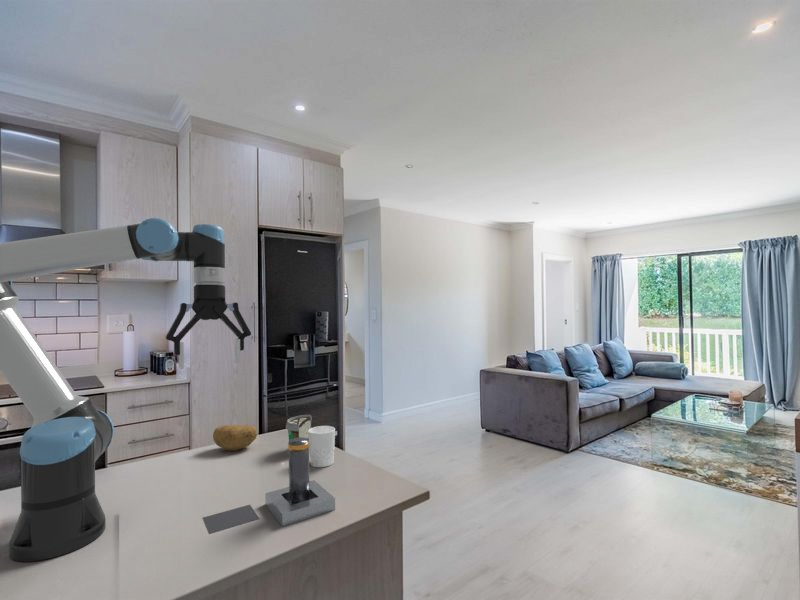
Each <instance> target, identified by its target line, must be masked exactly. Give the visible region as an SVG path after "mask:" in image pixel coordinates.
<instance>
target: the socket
mask: <svg viewBox="0 0 800 600" xmlns="http://www.w3.org/2000/svg"><path fill="white" fill-rule="evenodd" d="M309 485H310V500H307V501H303V502H300V503H297V504H293V505H290V504H289V486H287V487H284V488H280V489H277V490H272V491H270V492H265V493H264V495H265V498H264V499H265V507H267V508H268V509H269V511H270V512H271V514H272V516H274V517H275V518H276V520H277V521H278V522H279V524H280V525H281V527H285V526H288V525H292V524H295V523H297V522H301V521H304V520H306V519H309V518H314V517H317V516H320V515H323V514H326V513H328V512H332V511H335V510H336V497H334V496H333V495H332V494H331V493H330V492H329V491H327V490H326V489H325V488H324V487H323V486H322V485H321V484H319V483H318V482H317V481H316V480H315V479H313V480H309Z"/></svg>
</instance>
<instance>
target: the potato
mask: <svg viewBox="0 0 800 600" xmlns="http://www.w3.org/2000/svg"><path fill="white" fill-rule="evenodd" d="M257 435H258V430H257V427H255V426H252V425H242V424H230V425H227V424H226V425H220V426H218V427H215V429H214V431H213V434H212V439H213V442H214V444H215V445H216V446H218V447H219V448H220V449H223V450H226V451H233V452H234V451H238V450H242V449H244V448H247V447H249V446H250V445H251V444H252V443H253V442H255V440H256V439H257Z"/></svg>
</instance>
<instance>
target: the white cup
mask: <svg viewBox="0 0 800 600" xmlns="http://www.w3.org/2000/svg"><path fill="white" fill-rule="evenodd" d="M308 436H309V458H310V466H312V467H314V468H325V467H329V466H332V465H333V464H334V461H335V445H336V440H335V439H336V427H334V426H331V425H320V426H319V425H318V426H314V427H311V429H309V430H308Z"/></svg>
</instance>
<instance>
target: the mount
mask: <svg viewBox="0 0 800 600" xmlns="http://www.w3.org/2000/svg"><path fill="white" fill-rule="evenodd" d="M202 520H203V523H204V524H205V527H206V529H207V532H208V534H209V535H210V534H214V533H217V532H221V531H224V530H227V529H231V528H234V527H237V526H241V525H244V524H247V523H251V522H254V521H257V520H260V517H259V515H258V514H257V512H256V511H255V510H254V509H253V506H251V504H247V505H243V506H240V507H236V508H233V509H229V510H226V511H222V512H218V513H215V514H214V513H213V514H211V515H207V516H203V517H202Z"/></svg>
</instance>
